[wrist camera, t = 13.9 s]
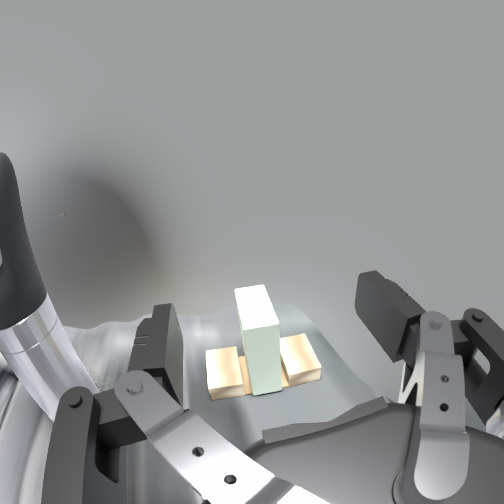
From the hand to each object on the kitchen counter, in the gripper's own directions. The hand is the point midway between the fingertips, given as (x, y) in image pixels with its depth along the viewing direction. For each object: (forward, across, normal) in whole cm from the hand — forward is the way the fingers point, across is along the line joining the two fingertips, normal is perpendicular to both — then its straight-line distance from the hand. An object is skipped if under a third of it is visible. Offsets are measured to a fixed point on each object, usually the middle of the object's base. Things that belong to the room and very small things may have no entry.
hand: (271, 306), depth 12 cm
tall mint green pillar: (+16, -2, +22) cm, 27 cm away
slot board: (+16, -2, +23) cm, 28 cm away
